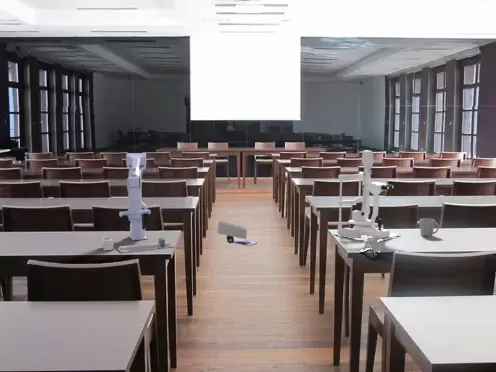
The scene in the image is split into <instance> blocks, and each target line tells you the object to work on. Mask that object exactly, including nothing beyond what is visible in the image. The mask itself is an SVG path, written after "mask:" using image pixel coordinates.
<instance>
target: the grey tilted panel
mask: <svg viewBox="0 0 496 372" xmlns="http://www.w3.org/2000/svg"><path fill="white" fill-rule="evenodd" d="M216 233H217V234H218V235H224V236H226V242H227V241H228V242H227V243H228V244H234V243H233V242H234V238H238V239H243V240H247V233H248V231H247V228H246V227H244V226H240V225H238V224H235V223H231V222H228V221H224V220H219V221H218V226H217V230H216Z"/></svg>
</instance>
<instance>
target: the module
mask: <svg viewBox="0 0 496 372" xmlns="http://www.w3.org/2000/svg"><path fill="white" fill-rule="evenodd" d="M100 248H101V249H102V250H103V251H104V250H110V249H114V239H113V238H112V237H111V236H105V237H100Z"/></svg>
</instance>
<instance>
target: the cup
mask: <svg viewBox="0 0 496 372" xmlns="http://www.w3.org/2000/svg"><path fill="white" fill-rule="evenodd" d="M435 225H436V231H434V228H435ZM419 229H420V230H419V231H420V235H421V236H422V237H425V236H431V237H432V236H433V235H434V234H436V233H438V232H439V223H438V222H436V220H435V219H434V218H428V217H425V218H424V217H423V218H420V219H419Z"/></svg>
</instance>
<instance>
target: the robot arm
mask: <svg viewBox="0 0 496 372" xmlns="http://www.w3.org/2000/svg"><path fill="white" fill-rule="evenodd" d="M125 162H126V168H127V169H128V178H126V188H127V193H128V207H127V208H128V209H127V210H126V211H119V212H118V213H119V215H118V216H119V217H120V218H121V219H122V222H123V224H124V227H125V230H126V232H130V233H129V234H130V235H128V238H130V239H131V240H132V241H140V240H141V241H142V240H148V239H149V238H148V237H147V236H146V235H147V234H146V225H147V222H148V220H149V218H150V215H151V212H152V211H151V209H148V206H147V204H146V203H144V202H143V201H142V199H143V198H142V194H143V193H142V190H143V189H142V185H143V184H142V183H143V182H142V174H143V170H146V169H147V153H146V152H142V153H141V152H140V153H139V152H138V153H137V152H135V153H133V152H132V153H131V152H130V153H129V152H127V153H126V155H125ZM129 222H130V225H129Z"/></svg>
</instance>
